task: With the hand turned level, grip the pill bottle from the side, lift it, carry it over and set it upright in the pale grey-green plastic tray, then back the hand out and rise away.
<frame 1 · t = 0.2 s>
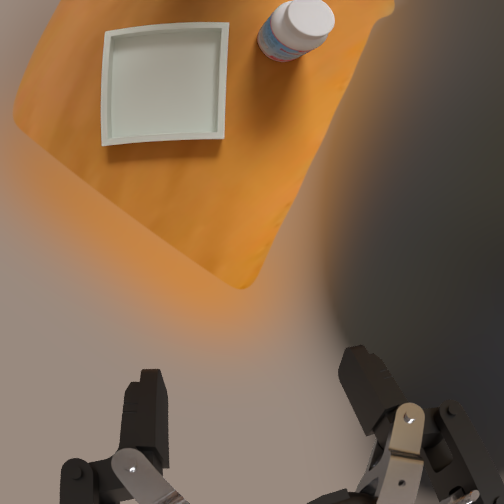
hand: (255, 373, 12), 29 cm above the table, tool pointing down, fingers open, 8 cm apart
pill bottle: (280, 41, 30), on the table
tray: (164, 82, 30), on the table
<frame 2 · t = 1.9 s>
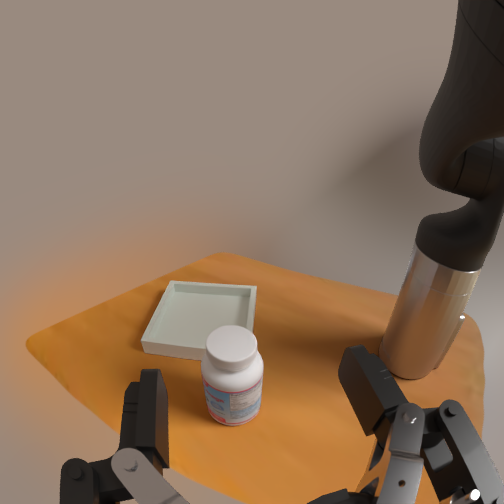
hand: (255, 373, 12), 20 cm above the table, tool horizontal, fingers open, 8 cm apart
pill bottle: (234, 407, 31), on the table
tray: (204, 324, 43), on the table
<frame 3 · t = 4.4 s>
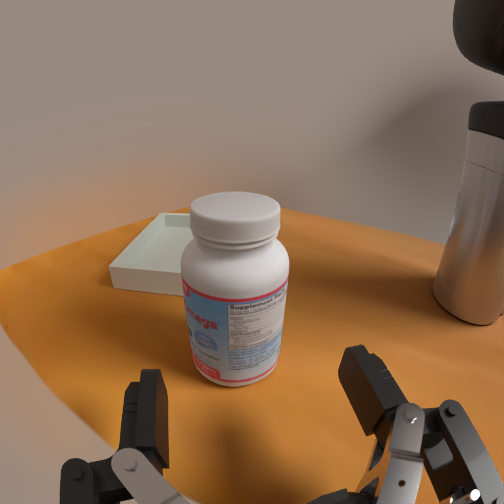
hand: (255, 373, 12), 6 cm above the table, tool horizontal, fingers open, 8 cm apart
pill bottle: (236, 359, 20), on the table
tray: (199, 258, 33), on the table
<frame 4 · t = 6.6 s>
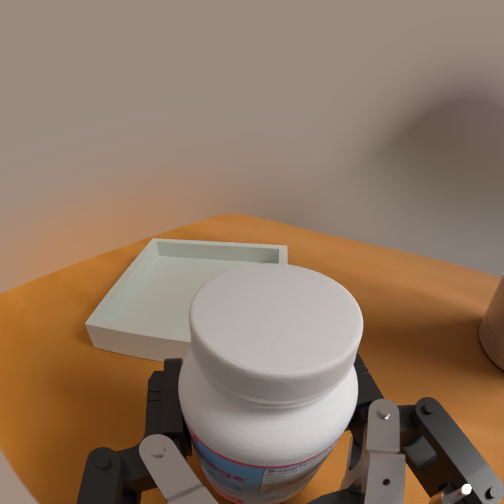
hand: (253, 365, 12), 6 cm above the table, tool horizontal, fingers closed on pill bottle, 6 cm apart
pill bottle: (258, 463, 13), on the table, touching gripper
tray: (202, 303, 26), on the table
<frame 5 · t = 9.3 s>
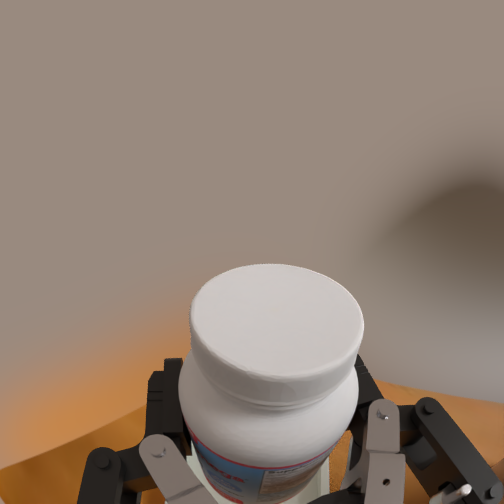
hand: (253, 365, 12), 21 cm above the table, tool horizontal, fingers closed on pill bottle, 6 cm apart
pill bottle: (259, 463, 13), point 15 cm above the table, touching gripper
tray: (249, 492, 21), on the table
when the fingers open (8 cm above the table, at t = 12.5 s): pill bottle stays where it is, resting on tray.
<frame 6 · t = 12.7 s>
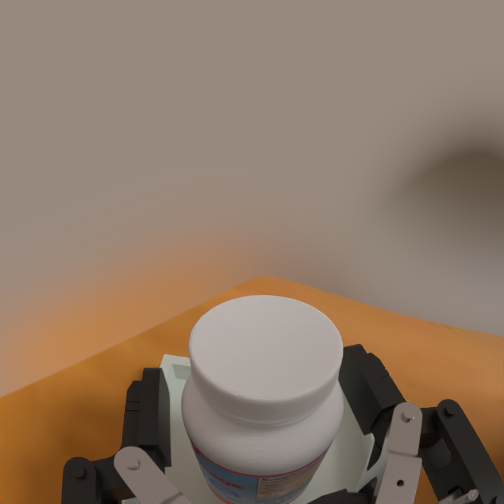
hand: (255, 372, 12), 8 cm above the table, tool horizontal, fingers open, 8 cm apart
pill bottle: (258, 472, 13), point 1 cm above the table, touching tray
tray: (257, 473, 14), on the table
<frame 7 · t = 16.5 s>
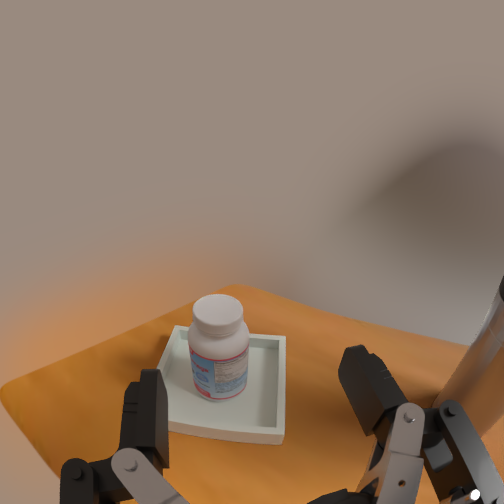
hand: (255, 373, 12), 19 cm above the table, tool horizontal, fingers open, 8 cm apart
pill bottle: (220, 384, 31), point 1 cm above the table, touching tray
tray: (220, 386, 32), on the table
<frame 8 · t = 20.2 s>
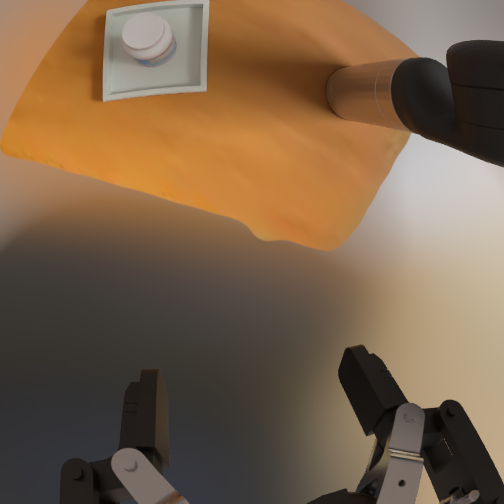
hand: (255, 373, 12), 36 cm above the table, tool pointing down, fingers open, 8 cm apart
pill bottle: (156, 49, 32), point 1 cm above the table, touching tray
tray: (156, 49, 32), on the table
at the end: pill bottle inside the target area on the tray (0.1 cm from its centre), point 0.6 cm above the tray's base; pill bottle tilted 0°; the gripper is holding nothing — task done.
